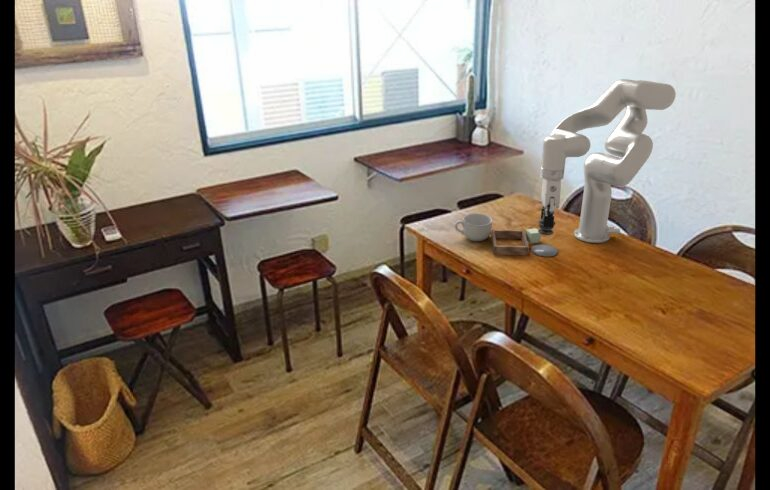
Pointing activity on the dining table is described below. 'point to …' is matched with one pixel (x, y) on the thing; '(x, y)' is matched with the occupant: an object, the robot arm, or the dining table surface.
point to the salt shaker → (545, 229)
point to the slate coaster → (544, 250)
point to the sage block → (533, 235)
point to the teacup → (475, 226)
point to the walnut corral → (510, 249)
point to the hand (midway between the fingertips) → (546, 222)
